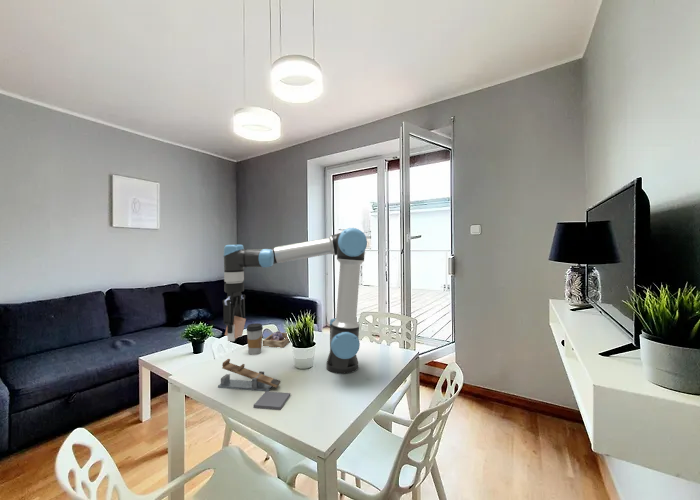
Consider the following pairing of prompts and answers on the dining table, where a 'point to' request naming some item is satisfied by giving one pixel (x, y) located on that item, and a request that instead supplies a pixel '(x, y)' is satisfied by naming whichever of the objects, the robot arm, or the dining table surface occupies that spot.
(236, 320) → the block
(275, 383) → the lever
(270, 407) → the pad
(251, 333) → the coffee cup
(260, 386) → the fulcrum
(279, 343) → the rock tray
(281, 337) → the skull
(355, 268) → the robot arm
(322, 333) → the dining table surface
